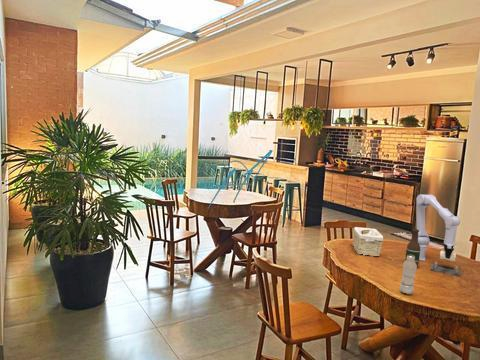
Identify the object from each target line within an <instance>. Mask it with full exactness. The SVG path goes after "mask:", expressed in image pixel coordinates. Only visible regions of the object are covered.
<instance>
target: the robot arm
mask: <svg viewBox="0 0 480 360" xmlns="http://www.w3.org/2000/svg"><path fill="white" fill-rule="evenodd" d="M415 200H416V206H415V207H416V208H415V209H416V210H415V211H416V216H415V217H416V229H418V230H419V232H418V243H419V245H420V257H419V261H424V262H425V261H426V250H427V247H428V246H429V244H430V241H431V240H430V235H429V234H428V232H427V231H426V208H428V207H429V206H431V207H433V209H435V210H436V211H437V212H438V216H440V217H441V218H442V219H443V220H444V224H445V233H444V239H443V249H444V251H445V258H448V259H450V256H451V254H452V253H454V250H455V248H454V247H455V246H458V244H457V242H456V238H457V230H458V226H459V225H460V224H461V219H460V218H459V216H457V215H456V216H455V215H454V214H453V213H451V211H450V210H449V208H446V207H443V206H442V205H441V204H440V203H439V201H438V200H437V197H436V196H435V195H434V194H418V195H417V197H416V199H415Z"/></svg>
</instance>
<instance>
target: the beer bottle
mask: <svg viewBox="0 0 480 360" xmlns="http://www.w3.org/2000/svg"><path fill="white" fill-rule="evenodd" d="M418 232H419V230H418V229H417V228H413V229H412V235H411V239H410V242H408V244H407V246H406V249H405V250H406V251H405V260H404V262H405V261H406V260H407V255H414V256H415V260H414V261H415V263H416V265H417V268H418V267H419V263H420V260H419V257H420V245H419V243H418Z"/></svg>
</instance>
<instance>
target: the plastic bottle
mask: <svg viewBox="0 0 480 360" xmlns="http://www.w3.org/2000/svg"><path fill="white" fill-rule="evenodd" d="M414 260H415V256H414V255H407V260H406V261H405V260H404V262H403V263H402V278H401V280H400V281H401V282H400V284H399V291H400V292H401V293H402V292H403V293H402V294H404V293H406V294H405V295H412V294H413V293H414V291H415V287H414V285H415V284H414V281H415V280H414V279H415V276H416V272H417V265H416V263H415V261H414Z"/></svg>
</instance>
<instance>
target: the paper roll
mask: <svg viewBox="0 0 480 360" xmlns="http://www.w3.org/2000/svg"><path fill="white" fill-rule="evenodd" d="M456 258H457V253H456V252H452V254H451V256H450V259H448V258H445V250H440V252H439V260H440V259H441V260H447V261H451V262H456Z"/></svg>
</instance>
